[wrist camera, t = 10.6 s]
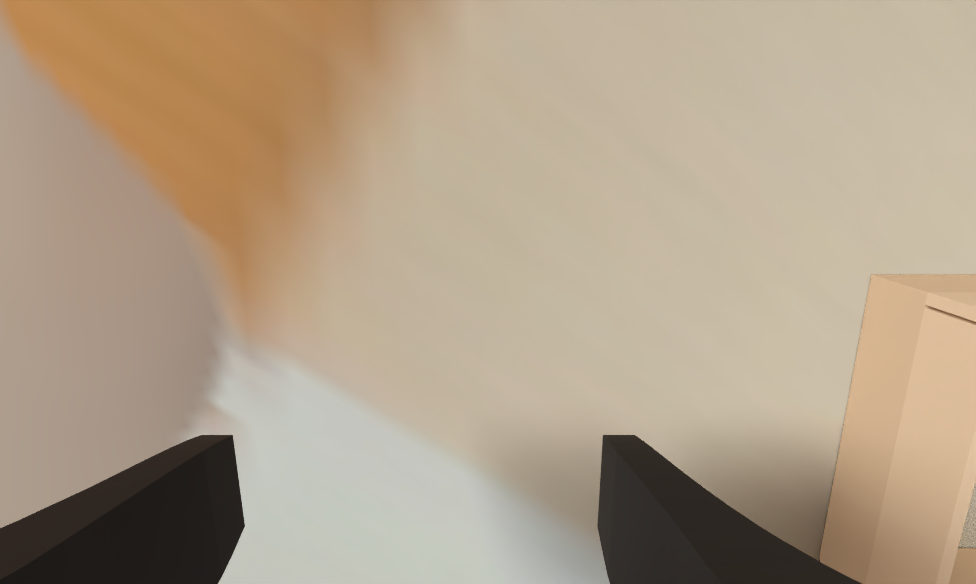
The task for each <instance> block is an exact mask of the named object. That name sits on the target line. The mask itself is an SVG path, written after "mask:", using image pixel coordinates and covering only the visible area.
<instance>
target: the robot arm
mask: <svg viewBox="0 0 976 584" xmlns="http://www.w3.org/2000/svg"><path fill="white" fill-rule="evenodd" d="M244 527H245V524H244V517H243V509H242V502H241V494H240V487H239V479H238V472H237V464H236V457H235V449H234V442H233V435H201V436H198V437H195V438H192V439H190V440H187V441H185V442H182V443H180V444H178V445H176V446H174V447H171V448H169V449H167V450H165V451H163V452H161V453H159V454H157V455H155V456H153V457H151V458H148V459H146V460H144V461H142V462H140V463H138V464H136V465H134V466H132V467H130V468H129V469H126V470H124V471H122V472H120V473H118V474H116V475H114V476H112V477H110V478H108V479H106V480H104V481H102V482H100V483H98V484H96V485H94V486H92V487H90V488H88V489H86V490H84V491H81V492H79V493H77V494H75V495H73V496H70V497H68V498H66V499H64V500H62V501H60V502H57V503H55V504H53V505H51V506H49V507H47V508H44V509H42V510H40V511H38V512H36V513H34V514H32V515H29V516H28V517H25V518H23V519H21V520H19V521H16V522H14V523H12V524H9V525H7V526H5V527H3V528H0V584H218V582H219V580H220V579H221V577H222V575H223V573H224V571H225V569H226V567H227V565H228V562H229V560H230V558H231V556H232V554H233V552H234V550H235V547H236V545H237V543H238V540H239V538H240V536H241V533H242V531H243V529H244ZM598 530H599V535H600V540H601V546H602V551H603V556H604V560H605V565H606V569H607V574H608V578H609V581H610V584H862V583H860V582H858V581H856V580H854V579H852V578H850V577H848V576H846V575H844V574H842V573H840V572H838V571H836V570H834V569H832V568H830V567H829V566H827V565H825V564H823V563H821V562H819V561H817V560H816V559H814V558H812V557H810V556H809V555H807V554H805V553H803V552H802V551H800V550H798V549H796V548H795V547H793V546H791V545H789V544H788V543H786V542H784V541H782V540H781V539H779V538H777V537H776V536H774V535H773V534H771V533H769V532H768V531H766V530H764V529H763V528H761V527H760V526H758V525H757V524H755V523H754V522H752V521H751V520H749V519H748V518H746V517H745V516H743V515H742V514H740V513H739V512H737V511H736V510H734V509H733V508H731V507H730V506H728V505H727V504H725V503H724V502H723V501H721V500H720V499H718V498H717V497H716V496H714V495H713V494H711V493H710V492H709V491H707V490H706V489H705V488H703V487H702V486H701V485H699V484H698V483H697V482H695V481H694V480H693V479H691V478H690V477H689V476H687V475H686V474H685V473H683V472H682V471H681V470H680V469H678V468H677V467H676V466H674V465H673V464H672V463H671V462H669V461H668V460H667V459H666V458H664V457H663V456H662V455H660V454H659V453H658V452H657V451H655V450H654V449H653V448H652V447H650V446H649V445H648V444H646V443H645V442H644V441H642V440H641V439H640V438H638V437H637V436H635V435H603V446H602V462H601V479H600V496H599V512H598Z"/></svg>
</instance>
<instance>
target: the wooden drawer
mask: <svg viewBox="0 0 976 584" xmlns="http://www.w3.org/2000/svg"><path fill="white" fill-rule="evenodd" d="M975 482H976V275H871V280H870V286H869V291H868V296H867V302H866V307H865V313H864V318H863V323H862V329H861V334H860V340H859V345H858V350H857V356H856V361H855V367H854V372H853V377H852V383H851V388H850V394H849V399H848V404H847V410H846V415H845V421H844V426H843V431H842V437H841V442H840V448H839V453H838V458H837V464H836V469H835V475H834V480H833V485H832V491H831V496H830V502H829V507H828V512H827V518H826V523H825V529H824V534H823V539H822V545H821V550H820V556H819V559H820V562H821V563H823V564H825V565H827V566H829V567H830V568H832V569H834V570H836V571H838V572H840V573H842V574H844V575H846V576H848V577H850V578H852V579H854V580H856V581H858V582H860V583H862V584H976V548H958V547H959V543H960V539H961V535H962V531H963V528H964V524H965V520H966V516H967V512H968V508H969V505H970V501H971V497H972V493H973V489H974V485H975Z"/></svg>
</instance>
